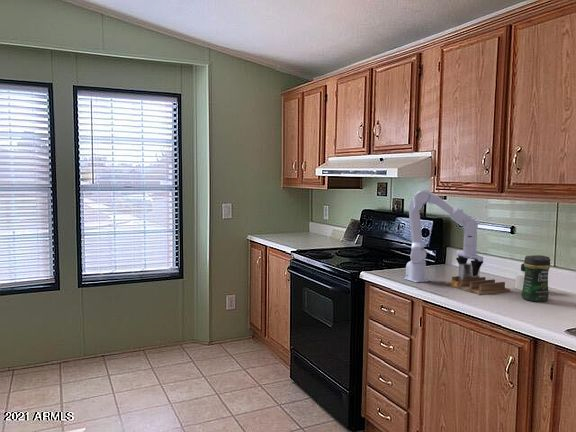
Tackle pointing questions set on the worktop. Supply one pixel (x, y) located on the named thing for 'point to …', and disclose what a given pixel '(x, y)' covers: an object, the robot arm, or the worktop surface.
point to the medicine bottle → (520, 278)
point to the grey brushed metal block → (466, 272)
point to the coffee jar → (536, 278)
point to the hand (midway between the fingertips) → (468, 274)
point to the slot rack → (478, 285)
